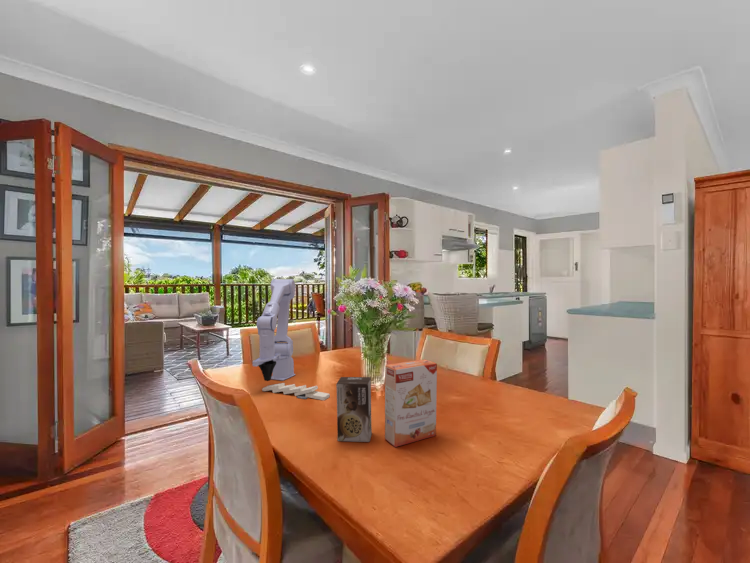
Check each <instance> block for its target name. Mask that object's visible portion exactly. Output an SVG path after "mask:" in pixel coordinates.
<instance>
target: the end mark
mask: <svg viewBox="0 0 750 563" xmlns="http://www.w3.org/2000/svg"><path fill="white" fill-rule="evenodd" d="M295 397H296V399H302V400H307V399H308V398H309V397H305V394H302V395H298V396H295Z"/></svg>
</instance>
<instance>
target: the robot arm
mask: <svg viewBox="0 0 750 563" xmlns="http://www.w3.org/2000/svg"><path fill="white" fill-rule="evenodd" d="M270 290H271V297H270V300H269V302H267V303H266V304H265V307H264V309H263V312H262V314H261V316H258V318H257V319H256V320H257V321H256V328H257V335H258V336H259V337H258V338H259V340H258V341H259V343H258V344H259V357H258V358H256V359H255V360H254V359H253V360H252V367H259V369H260V371H261V373H262V377H263V380H264V382H265V381H266V382H269V381H271V380H276V381H286V380H287V379H290V378H293V377H294V376H296V373H295V364H294V358H293V357H292V355H293V354H294V340H293V339H292V338H291V337H290V336H288V332H289V331H288V329H289V316H290V307H291V301H292V300H293V299H294V298H295V295H296V294H295V293H296V283H295V280H294V279H293V278H289V279H288V278H282V279H281V278H276V279H275V278H272V280H271V281H270ZM275 331H276V332H275ZM275 333H276V334H275Z"/></svg>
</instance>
